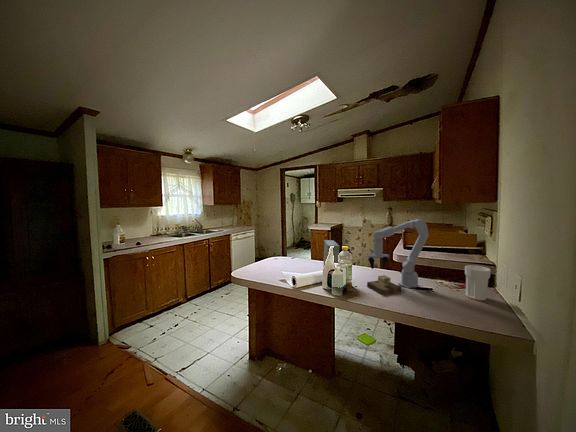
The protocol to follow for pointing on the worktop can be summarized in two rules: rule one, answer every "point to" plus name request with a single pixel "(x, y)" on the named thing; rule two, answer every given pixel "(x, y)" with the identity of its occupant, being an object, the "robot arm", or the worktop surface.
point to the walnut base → (384, 288)
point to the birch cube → (384, 280)
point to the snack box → (326, 249)
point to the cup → (477, 282)
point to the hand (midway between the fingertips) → (377, 268)
